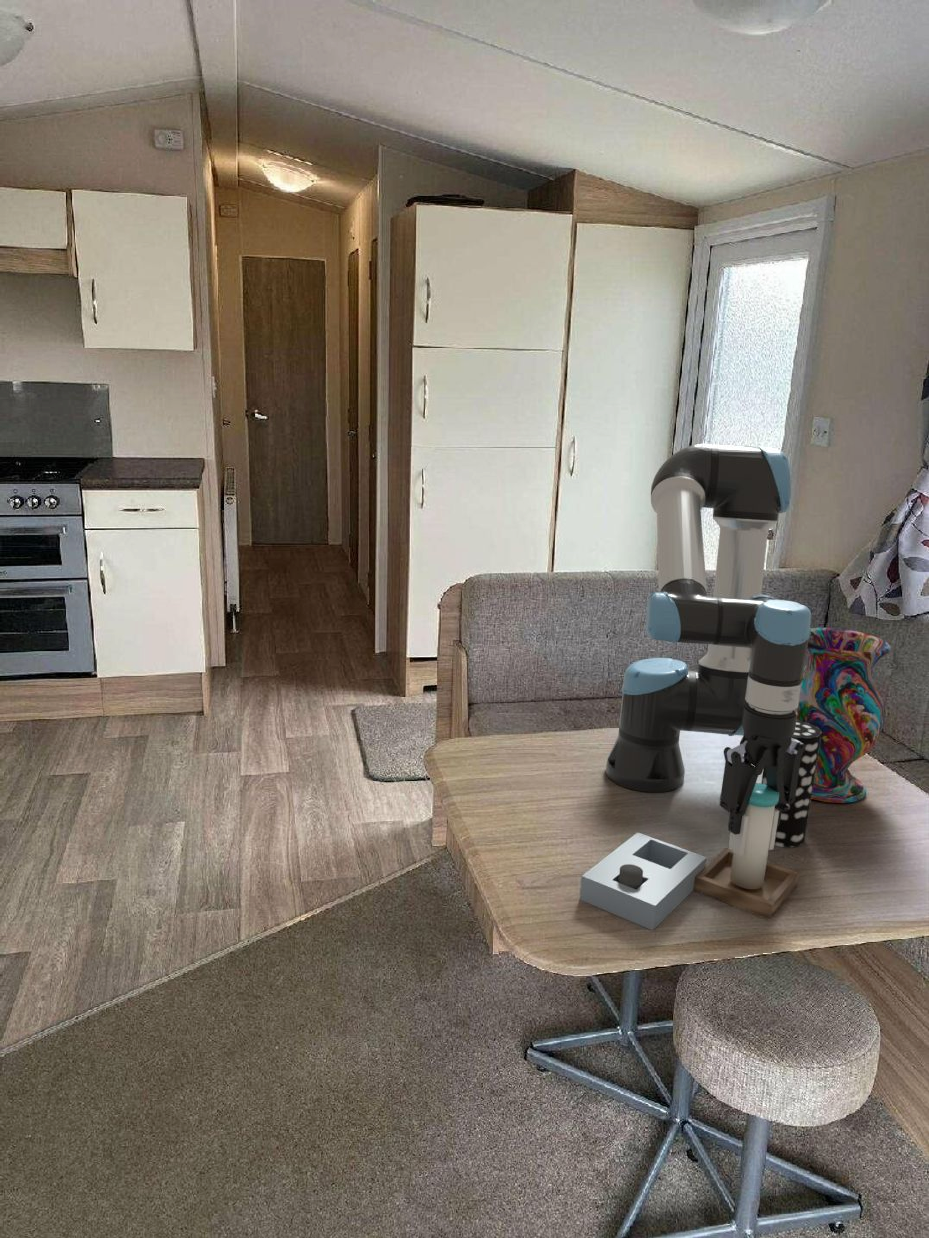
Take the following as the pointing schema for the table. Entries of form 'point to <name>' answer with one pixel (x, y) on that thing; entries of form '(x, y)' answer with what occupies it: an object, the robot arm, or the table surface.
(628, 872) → the plunger
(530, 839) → the table surface
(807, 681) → the vase
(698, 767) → the table surface
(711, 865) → the tray
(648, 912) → the housing
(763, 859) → the ball
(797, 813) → the spotted tube
